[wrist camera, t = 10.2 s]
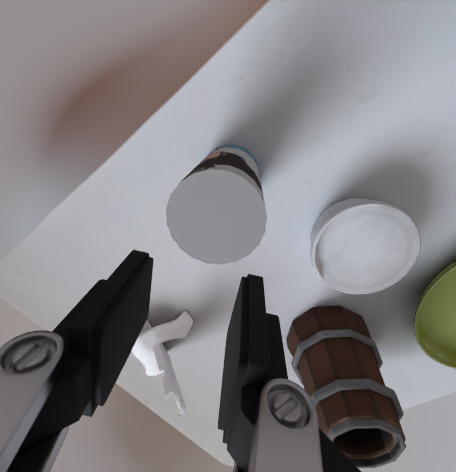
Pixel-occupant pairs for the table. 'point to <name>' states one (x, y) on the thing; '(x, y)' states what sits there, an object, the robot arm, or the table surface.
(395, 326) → the table surface
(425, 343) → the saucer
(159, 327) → the plastic part
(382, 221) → the ramekin
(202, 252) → the cup
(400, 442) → the mug
